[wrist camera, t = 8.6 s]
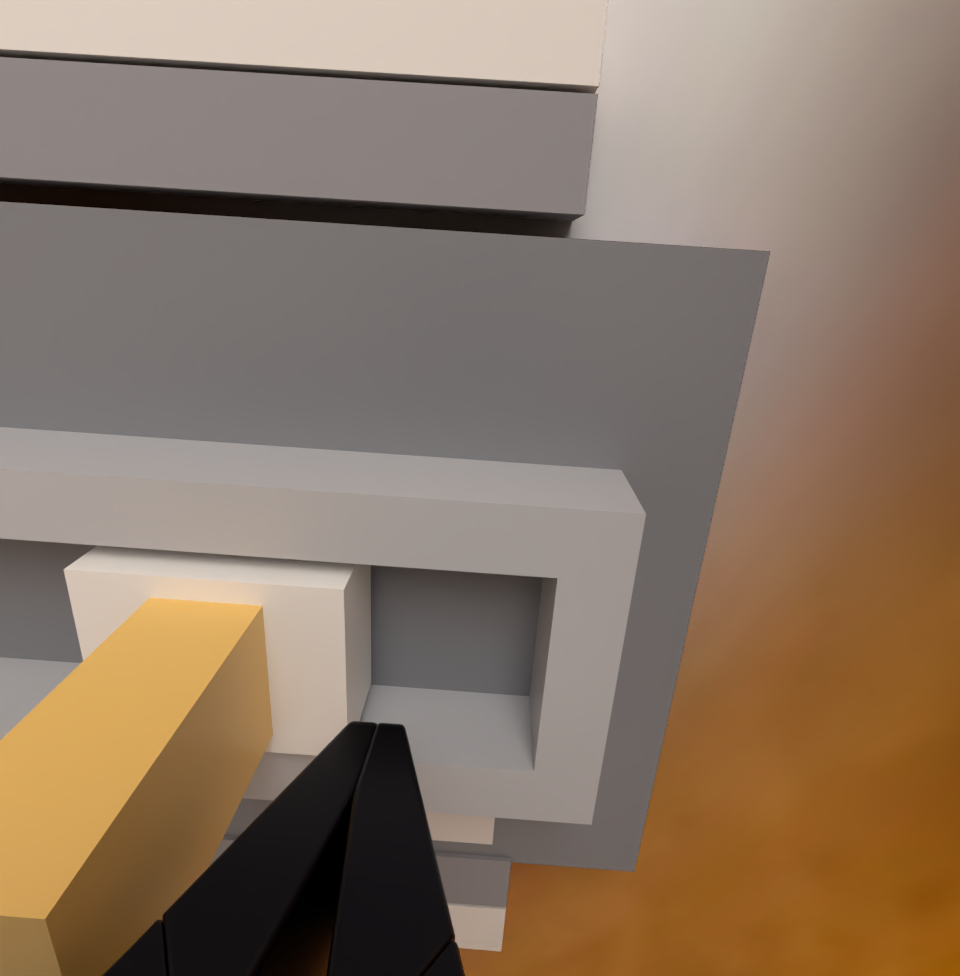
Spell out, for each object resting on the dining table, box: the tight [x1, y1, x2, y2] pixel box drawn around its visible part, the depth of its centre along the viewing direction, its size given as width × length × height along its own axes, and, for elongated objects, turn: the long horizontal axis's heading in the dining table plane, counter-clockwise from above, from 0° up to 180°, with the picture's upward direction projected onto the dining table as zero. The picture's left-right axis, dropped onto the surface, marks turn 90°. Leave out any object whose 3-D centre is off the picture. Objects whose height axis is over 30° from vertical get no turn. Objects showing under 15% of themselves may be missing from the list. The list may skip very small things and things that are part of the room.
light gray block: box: [210, 836, 511, 951], centre depth 16 cm, size 16×3×2 cm, turn 87°
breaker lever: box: [0, 545, 371, 976], centre depth 9 cm, size 4×3×7 cm
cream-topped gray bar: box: [0, 0, 608, 221], centre depth 10 cm, size 16×3×2 cm, turn 87°
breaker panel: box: [0, 202, 770, 872], centre depth 12 cm, size 22×14×4 cm, turn 87°
